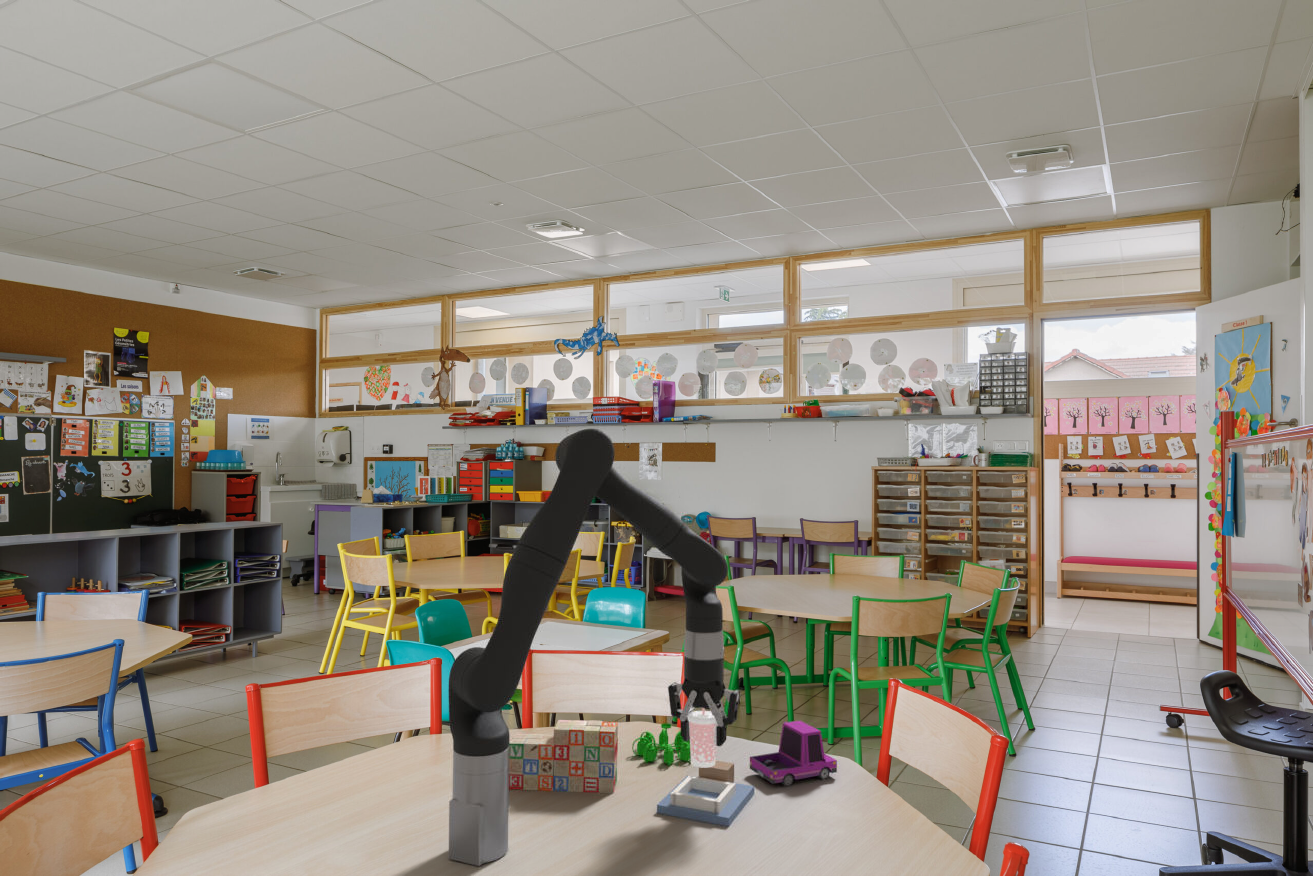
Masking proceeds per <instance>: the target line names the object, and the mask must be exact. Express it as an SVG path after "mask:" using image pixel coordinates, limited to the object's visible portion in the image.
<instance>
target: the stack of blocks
mask: <svg viewBox="0 0 1313 876" xmlns="http://www.w3.org/2000/svg"><path fill="white" fill-rule="evenodd" d="M618 729H619V723H618V722H617V721H603V720H595V719H593V720H592V719H591V720H582V719H580V720H577V719H576V720H575V719H574V720H573V719H568V720H567V719H558V720H557V722H556V724H555V727H554V728H553V734H544V733H542V734H541V733H517V732H516V733H514V734H513V736H512V737H511V739H509V790H523V791H524V790H525V791H542V792H543V791H545V792H546V791H547V792H550V791H551V792H553V791H554V792H573V793H574V792H577V793H600V794H601V793H602V794H614V793H615V789H616V785H617V783H618V749H619V748H618V744H619V742H618V741H619V738H618V735H619V734H618V733H619V732H618V731H619V730H618Z"/></svg>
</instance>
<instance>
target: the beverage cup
mask: <svg viewBox="0 0 1313 876" xmlns="http://www.w3.org/2000/svg"><path fill="white" fill-rule="evenodd" d="M701 708H702V707H701ZM687 717H688V721H689V733H690V752H691V754H690V759H691V761H690V763H691V765H692V766H693V767H696V768H699V767H700V768H707V767H712V766H714V765H715V761H716V760H717V759H716V755H717V745H716V727H717V726H718V724H717V722H716V719H715V717H714V716H713V715H712V713H711V710H706V709H705V708H702V710H693V711H692V712H691V713H689V715H687Z"/></svg>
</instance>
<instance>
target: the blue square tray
mask: <svg viewBox="0 0 1313 876" xmlns="http://www.w3.org/2000/svg"><path fill="white" fill-rule="evenodd" d="M754 795H755V785H749V784H743V783H739V782H735V763H733V762H729V761H727V762H726V761H721V760H715V765H714V766H712V767H707V768H700V767H698V776H695V775H686V776H685V777H684V778H683V779H682V780H681V781H680V782H679V783H678V784H677V785H676V786H675V787H674V788H673V789H672V790H671V791H669V793H667V795H665V796H664V798H662V799H661V801H659V802H658V803H657V804H656V813H657V814H661V815H665V816H671V817H676V818H682V819H687V820H692V821H698V822H703V823H707V824H714V825H718V826H725V827H730V826H731V824H732V823H733V822H734V821H735V819H736V818H737V817H738V815H739V814H740V813H741V812H742V811H743V809H744V808H745V806H746V805H747V804H748V803H749V802H750V800H751V799H752V798H753V796H754Z"/></svg>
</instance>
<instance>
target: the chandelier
mask: <svg viewBox="0 0 1313 876" xmlns="http://www.w3.org/2000/svg"><path fill="white" fill-rule="evenodd" d="M660 727H661V732H659V736H658V743H656V739H655V736H654V735H653V733H652V732H650V731H644V732H642V733H641V734H640V735H639V737H638V738H635V740H634V741H633V743H632V744H631V745H632V746H631V748H632V752H633V754H634V755H635V757H639V756H643V761H644V762H645V763H646V764H649V763H650V762H655V760H656V758H657V756H658V751H661V750H663V762H664V764H667V766H671V764H673V763H674V759H675V758H674V750H675V751H676V755H677V756H678V758H679V759H680V761H686V762H687V763H691V752H690V740H688V741H683V738H682V737H681V730H680V731H678V732H677V733H676V735H675V736H674V742H672V743H671V744H669V734H668V729H671V728H672V724H671V723H665V722H664V723H661V724H660ZM636 742H637V745H636V752H635V750H634V745H635V743H636Z"/></svg>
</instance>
